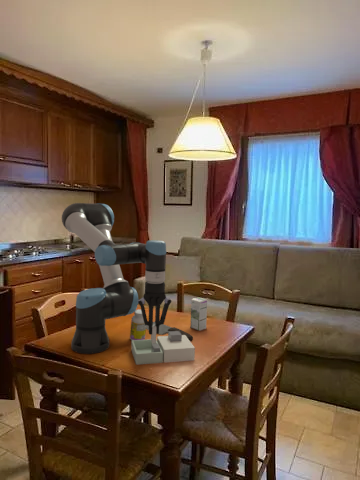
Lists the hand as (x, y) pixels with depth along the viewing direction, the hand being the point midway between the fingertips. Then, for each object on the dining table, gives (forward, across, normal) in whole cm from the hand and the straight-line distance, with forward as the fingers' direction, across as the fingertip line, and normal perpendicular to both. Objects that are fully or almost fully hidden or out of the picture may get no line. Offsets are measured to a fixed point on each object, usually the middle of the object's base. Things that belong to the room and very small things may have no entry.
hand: (153, 342), depth 142 cm
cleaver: (+7, +12, +28) cm, 32 cm away
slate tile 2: (+2, +10, +6) cm, 12 cm away
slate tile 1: (+4, +2, 0) cm, 4 cm away
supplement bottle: (+7, -3, +21) cm, 22 cm away
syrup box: (+7, +28, +31) cm, 42 cm away
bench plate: (+7, +10, +3) cm, 12 cm away
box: (+7, -2, +3) cm, 8 cm away
